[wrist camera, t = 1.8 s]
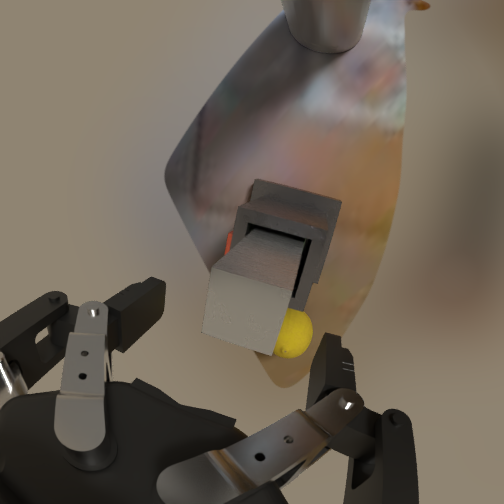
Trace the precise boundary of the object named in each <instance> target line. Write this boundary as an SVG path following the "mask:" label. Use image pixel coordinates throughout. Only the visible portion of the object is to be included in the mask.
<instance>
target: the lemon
mask: <svg viewBox="0 0 504 504" xmlns="http://www.w3.org/2000/svg"><path fill="white" fill-rule="evenodd" d="M312 334H313V329H312V323H311V321H310V318H309V317H308V316H307V314H306V313H304V312H301V311H298V310H294V309H291V308H287V311H286V314H285V317H284V320H283V323H282V326H281V330H280V333H279V336H278V339H277V342H276V345H275V348H274V351H273V353H274V354H276V355H277V356H279V357H282V358H294V357H297V356H299V355H301V354H302V353H303V352H304V351H305V350H306V349H307V347H308V346H309V344H310V342H311V339H312Z"/></svg>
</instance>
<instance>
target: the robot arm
mask: <svg viewBox="0 0 504 504" xmlns="http://www.w3.org/2000/svg"><path fill="white" fill-rule="evenodd" d="M281 2H282V5H283V9H284V12H285V16H286V19H287V22H288V26H289V29H290V32H291V34H292V35H293V37H294V38H295V39H296V40H297V41H298V42H299V43H300V44H302V45H303V46H305V47H307V48H309V49H311V50H314V51H317V52H321V53H339V52H344V51H346V50H349V49H351V48H352V47H354V46H355V45H356V44H357V43H358V42H359V40H360V38H361V36H362V33H363V29H364V25H365V22H366V18H367V14H368V10H369V6H370V2H371V0H281ZM165 292H166V283H165V282H164V281H162V280H159V279H157V278H154V277H150V278H148V279H147V280H145V281H144V282H142V283H141V282H139V283H135V284H132V285H130V286H128V287H127V288H125V289H124V290H122V291H120V292H119V293H117V294H116V295H114V296H113V297H111V298H110V299H108V300H106V301H105V302H104V303H101V302H98V301H89V302H86V303H84V304H82V305H81V306H80V307H78V306H74V305H70V304H68V299H67V295H66V294H64V293H63V292H59V291H52V292H48V293H46V294H44V295H43V296H41V297H39V298H38V299H36V300H34V301H33V302H31V303H30V304H28V305H27V306H25V307H23V308H21V309H20V310H18V311H17V312H15V313H13V314H12V315H10V316H9V317H7V318H6V319H4V320H3V321H1V322H0V504H288V502H287V501H286V499H285V497H284V496H283V494H282V492H281V489H282V488H283V487H285V486H286V485H288V484H289V483H290V482H292V481H293V480H294V479H295V478H297V477H298V476H299V475H300V474H301V473H302V472H303V471H305V470H306V469H307V468H309V467H310V466H311V465H313V464H314V463H315V462H316V461H318V460H319V459H320V458H321V457H322V456H324V455H325V454H326V453H327V452H328V451H330V450H331V449H333V450H335V451H338V452H340V453H342V454H344V455H346V456H349V462H348V472H347V480H346V488H345V496H344V502H343V504H419V492H418V476H417V463H416V453H415V445H414V437H413V430H412V423H411V420H410V418H409V417H408V416H407V415H406V414H405V413H404V412H402V411H400V410H397V409H388V410H386V411H385V412H384V413H383V414H382V415H381V414H378V413H376V412H374V411H371V410H369V409H367V408H366V407H364V400H363V398H362V397H361V396H360V395H359V394H358V393H357V392H356V382H355V372H354V366H353V365H354V362H353V356H352V354H351V353H350V351H349V350H348V349H346V348H342V347H341V336H338V335H334V334H330V333H325V334H324V336H323V338H322V340H321V343H320V345H319V347H318V350H317V352H316V354H315V356H314V359H313V362H312V365H311V369H310V379H309V387H308V395H307V403H306V411H304V412H303V411H302V410H301V409H298V410H296V411H294V412H292V413H290V414H289V415H287V416H285V417H284V418H282V419H280V420H278V421H277V422H275V423H274V424H271V425H270V426H268V427H266V428H264V429H262V430H261V431H259V432H257V433H255V434H253V435H251V436H249V437H248V436H247V435H246V434H244V433H243V432H242V431H240V430H239V429H237V428H236V427H234V425H235V422H236V419H234V418H231V417H228V416H225V415H222V414H219V413H216V412H214V411H211V410H206V409H200V408H195V407H190V406H185V405H181V404H179V403H177V402H176V401H175V400H173V399H172V398H171V397H169V396H168V395H166V394H165V393H164V392H162V391H161V390H160V389H158V388H156V387H154V386H152V385H150V384H148V383H146V382H144V381H142V380H140V379H138V378H136V379H135V380H134V381H133V382H132V383H126V382H118V381H113V365H112V351H113V350H114V349H116V350H118V351H120V352H122V353H124V352H125V351H126V350H127V349H128V348H130V347H131V345H133V344H134V343H135V342H136V341H137V340H138V339H139V338H140V337H141V336H142V335H143V334H144V333H145V332H146V331H148V330H149V329H150V328H151V327H152V326H153V325H154V324H155V323H156V322H157V321H158V320H159V319H160V318H161V316H162V314H163V312H164V305H165ZM46 327H47V329H48V333H49V334H48V335H47V336H46V337H45V338H43V339H42V340H41V341H39V342H38V343H37V344H36V343H35V338H36V335H37V334H38V333H39V332H40V331H42V330H43V329H44V328H46ZM64 357H65V359H64V366H63V373H62V380H61V389H60V390H57V391H50V392H43V393H35V394H27V393H28V390H29V389H30V388H31V387H32V386H33V385H34V384H35V383H36V382H37V381H39V380H40V379H41V377H43V376H44V375H45V374H46V373H47V372H48V371H49V370H51V369H52V368H53V367H54V366H55V365H56V364H57V363H58V362H59V361H60V360H62V359H63V358H64Z"/></svg>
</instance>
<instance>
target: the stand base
mask: <svg viewBox="0 0 504 504" xmlns="http://www.w3.org/2000/svg"><path fill="white" fill-rule="evenodd" d="M341 204H342V201H341V200H337V199H334V198H330V197H327V196H323V195H320V194H316V193H312V192H309V191H305V190H301V189H297V188H294V187H290V186H286V185H282V184H278V183H273V182H269V181H265V180H261V179H255V181H254V185H253V190H252V195H251V199H250V202H248V203H245V204H243V205H241V206H238V210H237V215H236V220H235V225H234V230H233V231H231V232H230V233H228V239H227V244H226V249H225V254H224V256H225V255H226V254H227V253H228V252H229V251H230V250H231V249H232V248H233V247H235V246H236V245H237V244H238V243H239V242H240V241H241V240H242V239H244V238H245V237H246V236H247V235H248V234H249V233H250V232H252V231H253V230H254V229H255V228H256V227H257V226H258V225H260V226H264V227H267V228H271V229H275V230H278V231H282V232H286V233H289V234H293V235H297V236H300V237H304V238H306V241H305V244H304V248H303V251H302V255H301V259H300V263H299V267H298V271H297V276H296V280H295V284H294V288H293V292H292V295H291V298H290V301H289V304H288V308H291V309H294V310H298V311H301V312H303V310H304V307H305V304H306V302H307V299H308V296H309V293H310V290H311V286H312V283H317V284H318V281H319V278H320V275H321V272H322V268H323V265H324V262H325V259H326V256H327V252H328V249H329V246H330V243H331V239H332V236H333V232H334V229H335V225H336V222H337V218H338V215H339V211H340V207H341Z"/></svg>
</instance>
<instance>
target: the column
mask: <svg viewBox="0 0 504 504" xmlns="http://www.w3.org/2000/svg"><path fill="white" fill-rule="evenodd" d="M305 241H306V238H304V237H300V236H297V235H293V234H289V233H286V232H282V231H278V230H275V229H271V228H267V227H264V226H260V225H258V226H257V227H256V228H255V229H254V230H253V231H252V232H250V233H249V234H248V235H247V236H246V237H245V238H244V239H242V240H241V241H240V242H239V243H238V244H237V245H236V246H235V247H233V248H232V249H231V250H230V251H229V252H228V253H227V254H226V255H225V256H223V257H222V258H221V259H220V260H219V261H218V262H217V263H216V264H214V265H213V266H212V268H211V274H210V280H209V286H208V293H207V299H206V306H205V312H204V319H203V325H202V332H201V333H204V334H206V335H209V336H212V337H215V338H218V339H220V340H223V341H226V342H229V343H232V344H235V345H238V346H241V347H244V348H248V349H251V350H254V351H257V352H260V353H264V354H267V355H270V356H272V353H273V351H274V348H275V345H276V342H277V339H278V336H279V333H280V330H281V326H282V323H283V320H284V317H285V314H286V311H287V308H288V304H289V301H290V298H291V295H292V292H293V288H294V284H295V280H296V276H297V271H298V267H299V263H300V259H301V255H302V251H303V248H304V244H305Z"/></svg>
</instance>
